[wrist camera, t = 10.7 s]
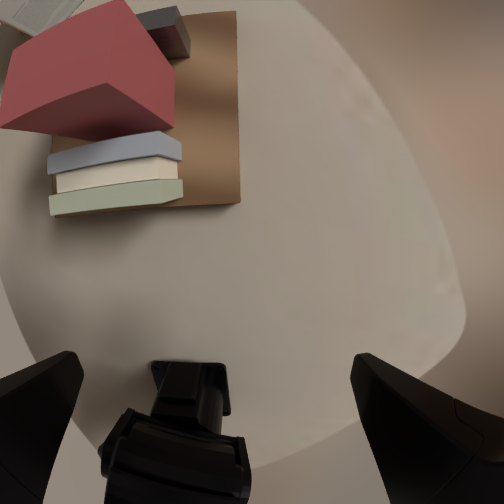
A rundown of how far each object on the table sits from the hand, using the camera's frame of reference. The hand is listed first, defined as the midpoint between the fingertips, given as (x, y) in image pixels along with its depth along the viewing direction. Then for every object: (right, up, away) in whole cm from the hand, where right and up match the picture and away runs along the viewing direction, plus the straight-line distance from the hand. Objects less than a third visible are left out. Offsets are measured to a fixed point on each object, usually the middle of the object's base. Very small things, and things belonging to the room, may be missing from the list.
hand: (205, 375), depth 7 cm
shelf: (-7, +13, +9) cm, 17 cm away
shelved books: (-6, +9, +8) cm, 14 cm away
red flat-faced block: (-6, +13, +7) cm, 16 cm away
